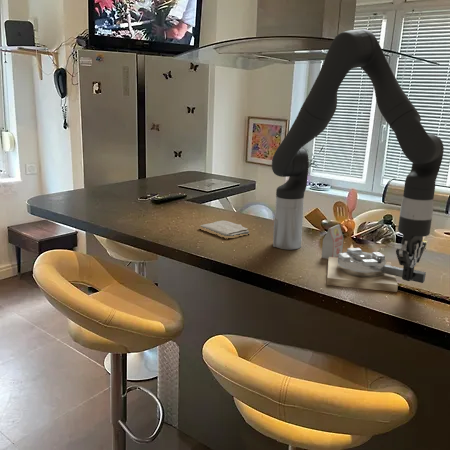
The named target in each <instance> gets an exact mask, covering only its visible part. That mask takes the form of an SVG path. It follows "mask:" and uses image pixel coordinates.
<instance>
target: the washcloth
mask: <svg viewBox="0 0 450 450" xmlns="http://www.w3.org/2000/svg"><path fill="white" fill-rule="evenodd" d="M199 226H201V227H203V228H206V229H209V230H211V231H214V232H216V233H219V234H221V235H224V236H234V235H240V234H248V233H250V231H249V228H247V227H244V226H242V224H239V223H235V222H232V221H228V220H217V221H214V222H211V223H210V222H209V223H204V224H201V225H199Z"/></svg>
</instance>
